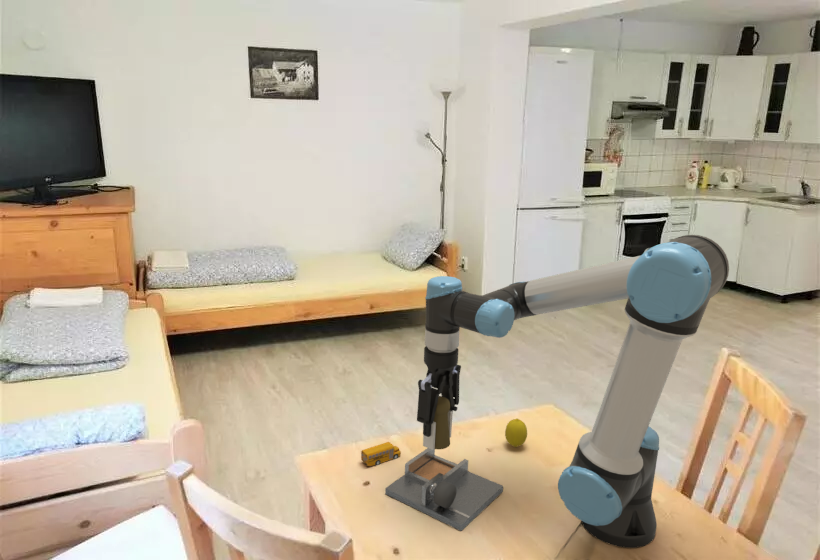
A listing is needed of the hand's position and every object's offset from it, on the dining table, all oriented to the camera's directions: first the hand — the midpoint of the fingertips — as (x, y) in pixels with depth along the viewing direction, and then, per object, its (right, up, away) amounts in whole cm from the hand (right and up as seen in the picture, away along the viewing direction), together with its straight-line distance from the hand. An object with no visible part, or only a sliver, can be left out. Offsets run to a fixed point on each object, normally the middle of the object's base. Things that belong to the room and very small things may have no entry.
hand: (437, 441), depth 139 cm
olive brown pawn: (0, -1, 0) cm, 1 cm away
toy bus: (-13, -8, +10) cm, 18 cm away
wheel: (+1, -11, -10) cm, 15 cm away
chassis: (+1, -11, -3) cm, 11 cm away
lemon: (+21, -6, +17) cm, 28 cm away
